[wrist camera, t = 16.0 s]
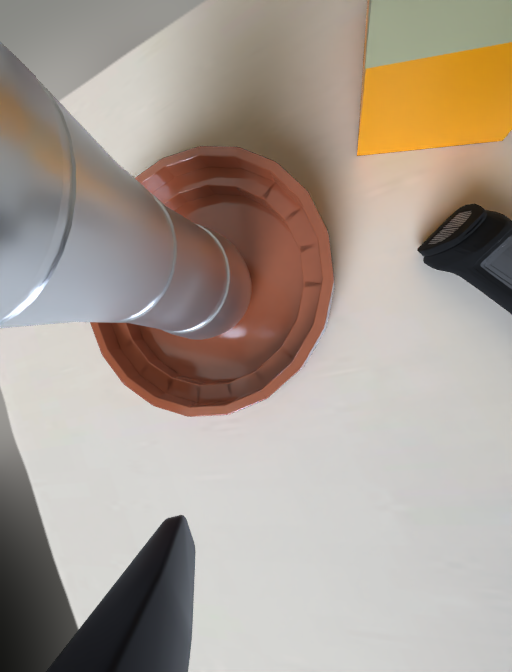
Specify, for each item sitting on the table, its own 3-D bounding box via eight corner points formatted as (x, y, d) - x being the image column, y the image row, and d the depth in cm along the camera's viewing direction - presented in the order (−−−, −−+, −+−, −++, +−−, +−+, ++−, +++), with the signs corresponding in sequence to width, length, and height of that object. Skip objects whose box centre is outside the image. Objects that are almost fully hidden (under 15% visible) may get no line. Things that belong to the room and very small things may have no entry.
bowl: (383, 229, 17) (393, 207, 14) (256, 451, 19) (241, 471, 16) (176, 142, 21) (150, 111, 18) (88, 333, 23) (53, 333, 20)
